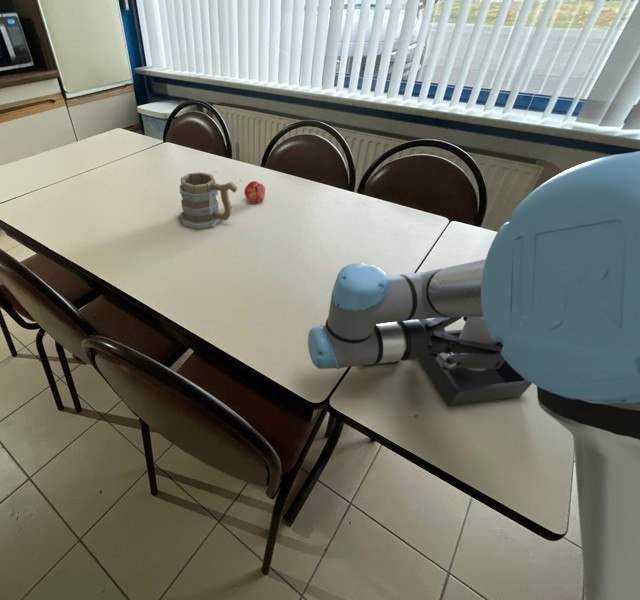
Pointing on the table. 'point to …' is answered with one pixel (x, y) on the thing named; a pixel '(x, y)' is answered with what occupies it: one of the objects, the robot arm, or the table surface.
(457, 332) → the basket
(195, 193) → the tankard
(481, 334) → the coffee cup
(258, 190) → the pomegranate
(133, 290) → the table surface
